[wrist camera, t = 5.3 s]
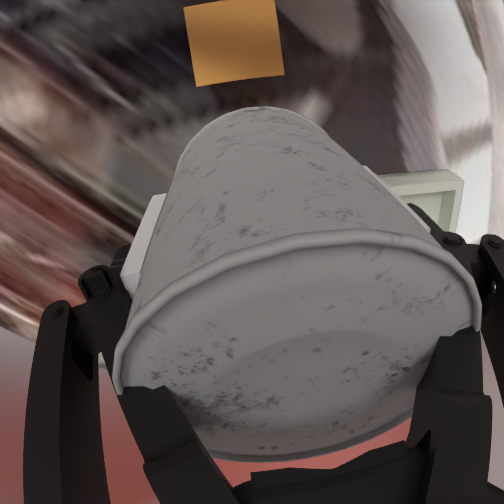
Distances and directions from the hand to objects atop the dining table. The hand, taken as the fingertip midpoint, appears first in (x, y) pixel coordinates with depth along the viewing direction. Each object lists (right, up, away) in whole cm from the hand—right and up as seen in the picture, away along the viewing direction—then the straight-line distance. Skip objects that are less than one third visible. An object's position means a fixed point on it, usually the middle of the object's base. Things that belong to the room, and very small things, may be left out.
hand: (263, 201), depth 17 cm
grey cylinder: (0, +1, +1) cm, 1 cm away
